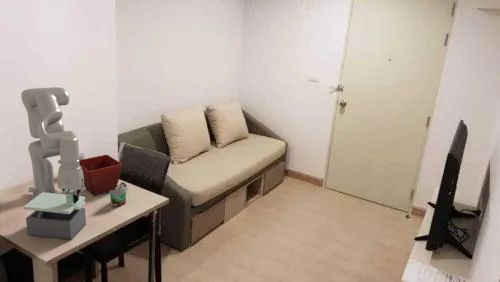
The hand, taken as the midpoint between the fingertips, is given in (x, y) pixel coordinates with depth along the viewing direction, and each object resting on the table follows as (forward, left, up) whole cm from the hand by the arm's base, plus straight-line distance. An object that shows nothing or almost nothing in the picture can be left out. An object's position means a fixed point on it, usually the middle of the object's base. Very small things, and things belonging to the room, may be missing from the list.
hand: (72, 201), depth 178 cm
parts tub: (-8, 0, -16) cm, 18 cm away
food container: (+10, +31, -16) cm, 36 cm away
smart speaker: (-28, +61, -16) cm, 69 cm away
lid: (-7, 0, -3) cm, 8 cm away
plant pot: (-8, +45, -16) cm, 48 cm away
